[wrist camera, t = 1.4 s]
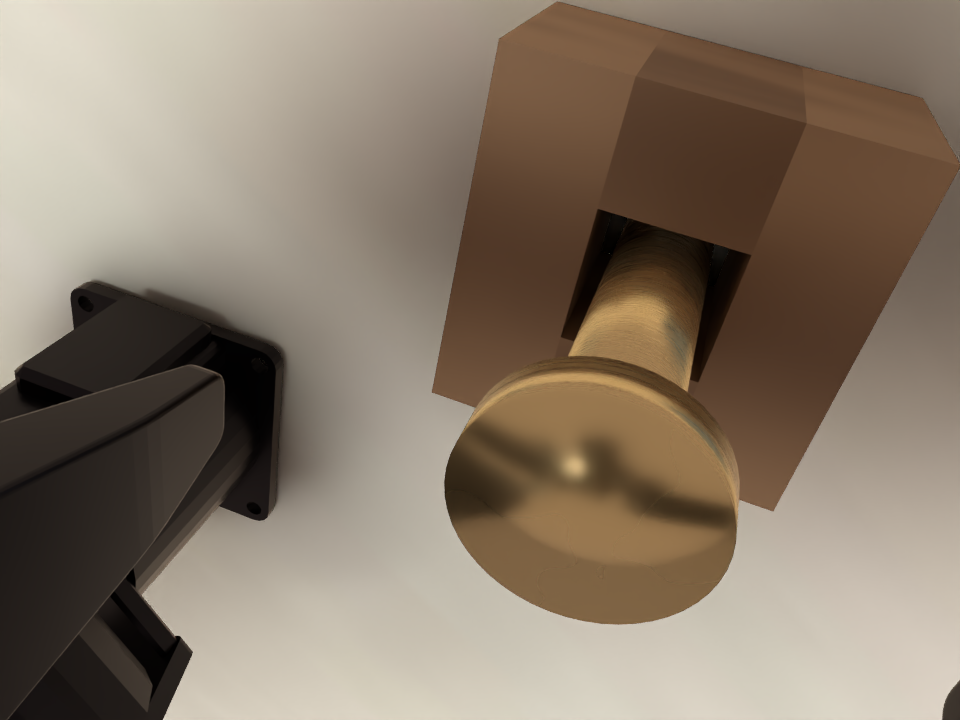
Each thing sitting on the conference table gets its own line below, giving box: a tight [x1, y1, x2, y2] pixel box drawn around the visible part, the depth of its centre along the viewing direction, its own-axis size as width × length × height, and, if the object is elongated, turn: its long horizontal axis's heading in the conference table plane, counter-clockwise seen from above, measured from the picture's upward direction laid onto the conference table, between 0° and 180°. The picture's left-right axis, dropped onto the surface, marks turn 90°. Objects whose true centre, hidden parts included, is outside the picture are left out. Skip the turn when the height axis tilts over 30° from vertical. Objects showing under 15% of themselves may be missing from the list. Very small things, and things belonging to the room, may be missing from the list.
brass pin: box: [444, 218, 740, 624], centre depth 14 cm, size 3×3×10 cm
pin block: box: [432, 2, 960, 511], centre depth 16 cm, size 7×7×4 cm
